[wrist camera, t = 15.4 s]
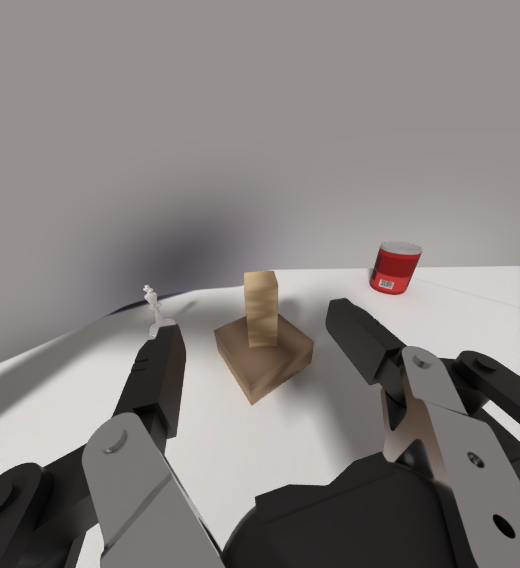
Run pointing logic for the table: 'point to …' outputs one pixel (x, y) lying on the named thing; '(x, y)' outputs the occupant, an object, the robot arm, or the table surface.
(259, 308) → the oak block
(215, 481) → the table surface
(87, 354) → the table surface
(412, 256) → the canned food
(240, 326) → the walnut block
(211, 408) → the table surface
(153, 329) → the chess piece
